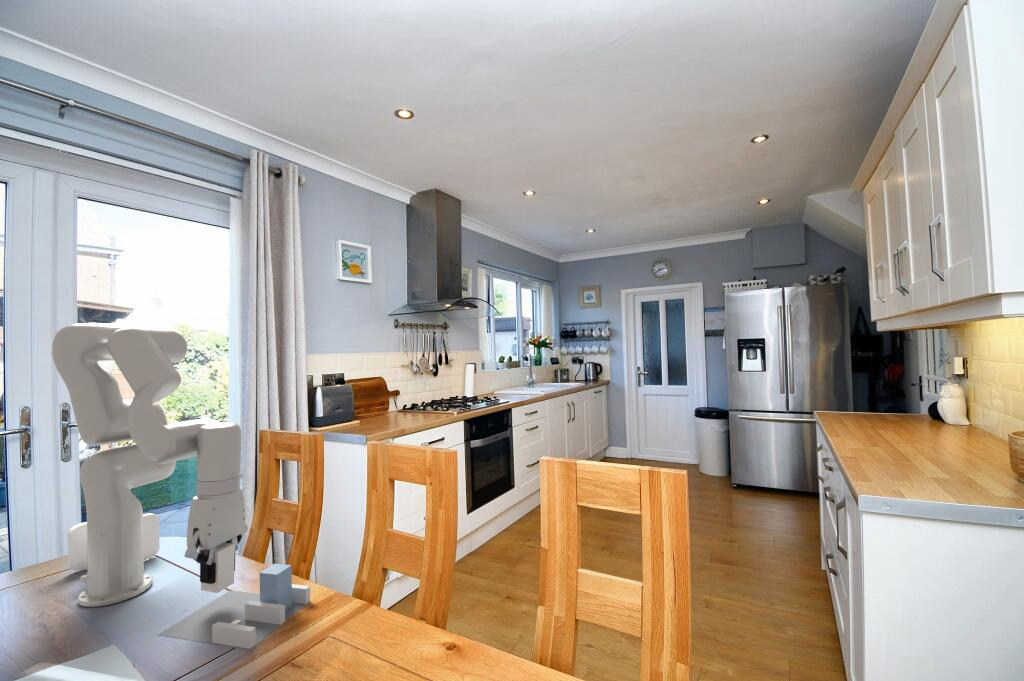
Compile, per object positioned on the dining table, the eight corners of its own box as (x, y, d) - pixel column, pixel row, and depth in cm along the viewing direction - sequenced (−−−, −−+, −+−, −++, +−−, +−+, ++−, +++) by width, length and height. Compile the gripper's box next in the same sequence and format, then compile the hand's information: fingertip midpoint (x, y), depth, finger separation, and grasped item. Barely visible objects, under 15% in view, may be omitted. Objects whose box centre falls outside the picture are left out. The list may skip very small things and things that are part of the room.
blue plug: (260, 614, 92) (259, 572, 92) (275, 603, 96) (274, 563, 96) (277, 616, 91) (277, 574, 91) (292, 605, 95) (291, 565, 95)
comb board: (157, 643, 86) (157, 618, 86) (230, 597, 102) (229, 576, 102) (249, 658, 81) (249, 631, 81) (311, 607, 97) (310, 585, 97)
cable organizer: (88, 583, 110) (87, 532, 110) (66, 574, 114) (66, 525, 115) (160, 556, 123) (159, 511, 123) (138, 549, 128) (137, 506, 128)
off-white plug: (200, 590, 94) (201, 549, 94) (218, 580, 98) (218, 541, 98) (217, 593, 93) (218, 552, 93) (234, 582, 97) (234, 543, 97)
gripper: (237, 472, 104) (236, 556, 104) (164, 497, 88) (163, 595, 88) (266, 475, 102) (264, 560, 102) (197, 500, 86) (195, 601, 86)
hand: (217, 575), depth 95 cm, fingers closed on off-white plug, 4 cm apart
